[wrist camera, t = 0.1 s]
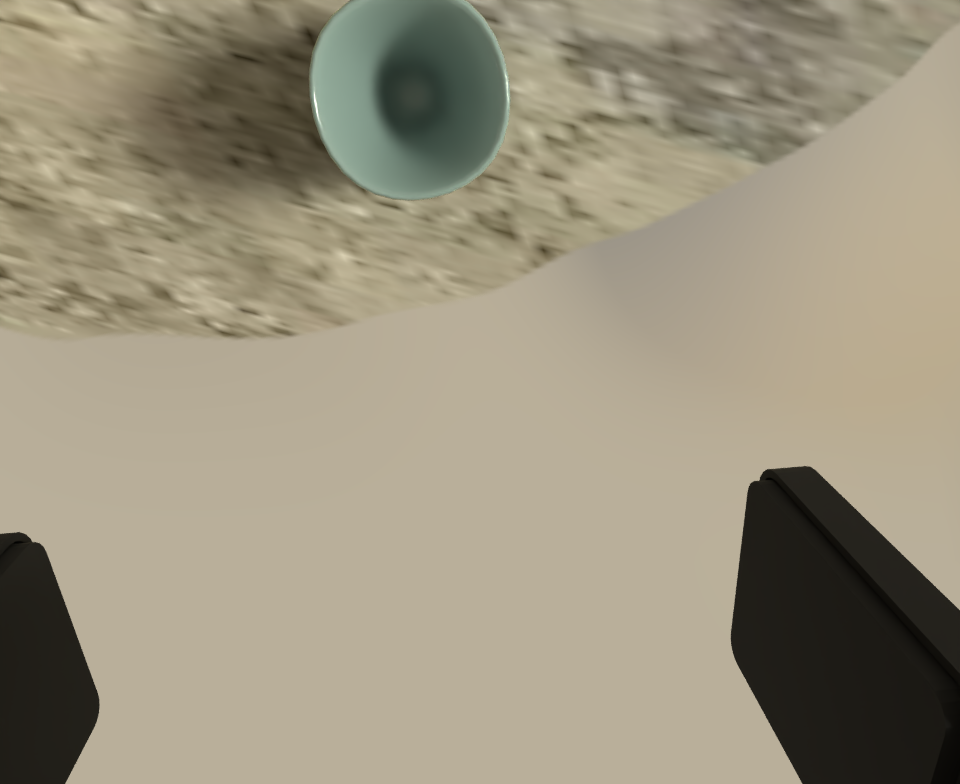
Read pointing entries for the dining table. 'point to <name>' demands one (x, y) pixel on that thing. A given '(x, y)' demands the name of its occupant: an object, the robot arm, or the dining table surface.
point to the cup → (409, 95)
